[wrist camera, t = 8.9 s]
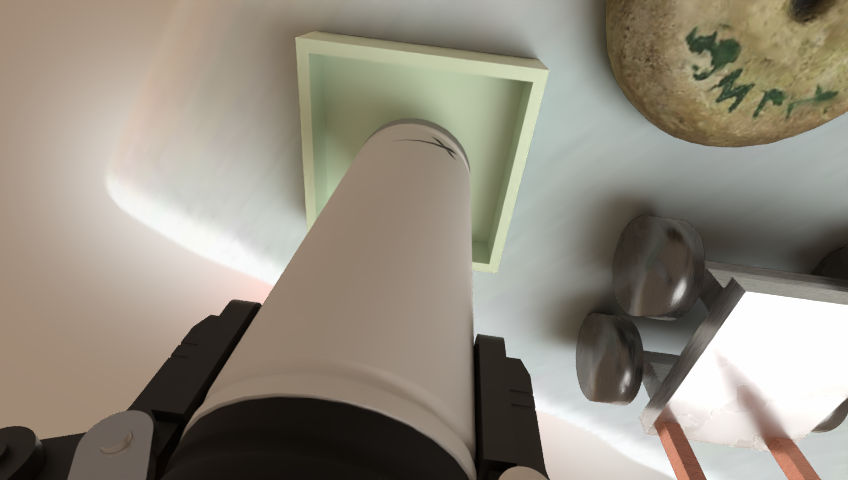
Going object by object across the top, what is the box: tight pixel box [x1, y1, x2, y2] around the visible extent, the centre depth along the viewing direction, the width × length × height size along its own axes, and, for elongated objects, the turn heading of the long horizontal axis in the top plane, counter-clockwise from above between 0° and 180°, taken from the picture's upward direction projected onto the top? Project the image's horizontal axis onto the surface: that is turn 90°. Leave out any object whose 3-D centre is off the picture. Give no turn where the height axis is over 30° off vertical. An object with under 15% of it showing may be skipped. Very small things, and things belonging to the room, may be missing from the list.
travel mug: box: [160, 118, 477, 480], centre depth 14 cm, size 6×7×20 cm
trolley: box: [576, 215, 848, 480], centre depth 20 cm, size 14×15×20 cm
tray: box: [295, 31, 549, 273], centre depth 23 cm, size 12×12×3 cm
